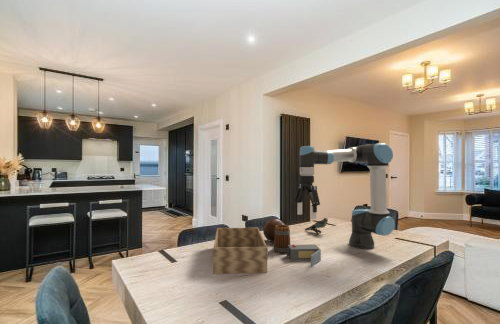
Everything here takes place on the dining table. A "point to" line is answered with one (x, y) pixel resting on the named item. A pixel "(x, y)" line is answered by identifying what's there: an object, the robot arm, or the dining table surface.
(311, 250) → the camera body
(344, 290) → the dining table surface
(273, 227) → the coconut
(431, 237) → the dining table surface
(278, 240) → the mug
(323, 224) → the bird figurine
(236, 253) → the box
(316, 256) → the side door
